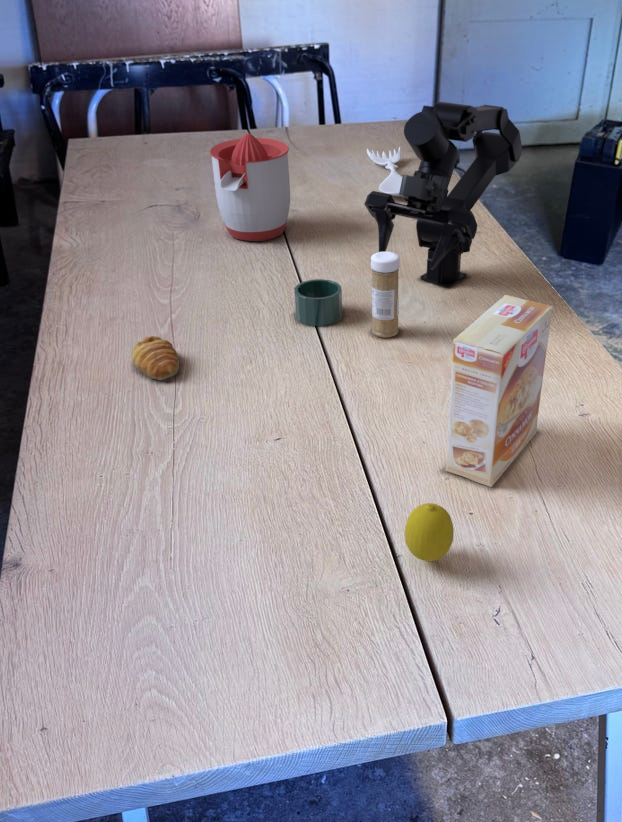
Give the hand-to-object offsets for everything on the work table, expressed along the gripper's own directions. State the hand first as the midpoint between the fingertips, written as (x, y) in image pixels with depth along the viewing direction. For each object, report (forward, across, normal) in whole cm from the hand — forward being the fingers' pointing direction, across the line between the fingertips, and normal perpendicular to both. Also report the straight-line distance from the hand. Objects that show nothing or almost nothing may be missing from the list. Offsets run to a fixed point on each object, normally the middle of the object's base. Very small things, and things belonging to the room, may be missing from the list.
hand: (405, 262), depth 147 cm
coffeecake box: (+29, +27, -20) cm, 44 cm away
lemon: (+45, +27, -37) cm, 64 cm away
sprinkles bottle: (+12, 0, +1) cm, 12 cm away
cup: (+12, -13, +2) cm, 18 cm away
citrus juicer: (-6, -42, +25) cm, 49 cm away
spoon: (-36, -29, +55) cm, 72 cm away
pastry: (+30, -28, -16) cm, 44 cm away
